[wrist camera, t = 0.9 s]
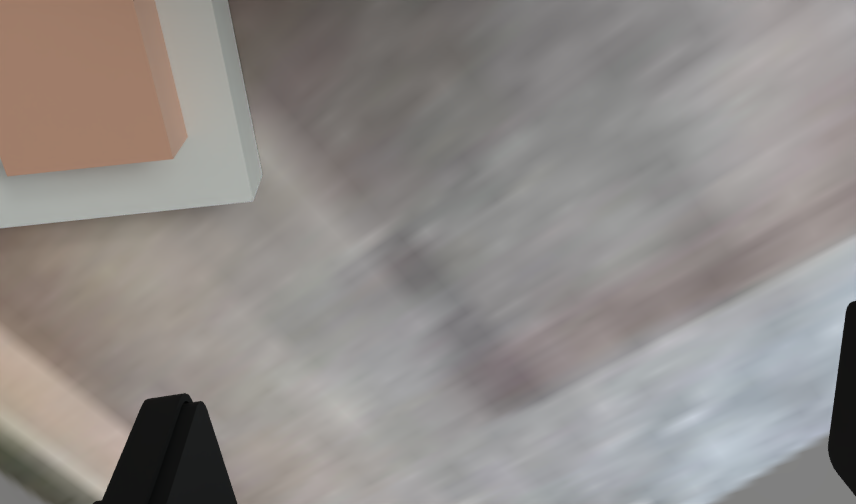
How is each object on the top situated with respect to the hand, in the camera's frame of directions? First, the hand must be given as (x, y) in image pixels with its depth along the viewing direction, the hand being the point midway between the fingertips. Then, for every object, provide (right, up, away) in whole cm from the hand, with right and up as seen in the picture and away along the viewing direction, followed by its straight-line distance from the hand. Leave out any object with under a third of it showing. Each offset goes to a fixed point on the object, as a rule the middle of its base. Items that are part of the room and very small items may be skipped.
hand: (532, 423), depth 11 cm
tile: (-14, +9, +17) cm, 24 cm away
